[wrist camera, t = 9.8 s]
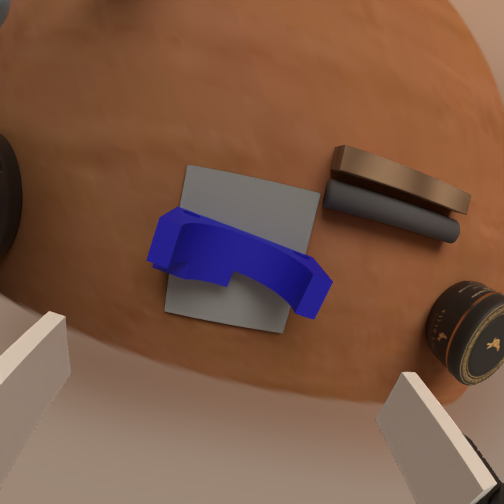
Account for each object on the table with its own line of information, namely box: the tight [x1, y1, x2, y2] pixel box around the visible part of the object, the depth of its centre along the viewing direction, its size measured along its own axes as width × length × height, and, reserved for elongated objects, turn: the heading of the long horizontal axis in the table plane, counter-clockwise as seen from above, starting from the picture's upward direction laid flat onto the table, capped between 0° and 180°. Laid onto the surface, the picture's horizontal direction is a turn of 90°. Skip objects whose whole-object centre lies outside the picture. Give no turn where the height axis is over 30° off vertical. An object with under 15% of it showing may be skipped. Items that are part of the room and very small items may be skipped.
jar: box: [426, 281, 504, 385], centre depth 25 cm, size 10×10×8 cm
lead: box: [323, 179, 460, 243], centre depth 25 cm, size 14×2×2 cm, turn 78°
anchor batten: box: [331, 145, 471, 215], centre depth 24 cm, size 14×2×2 cm, turn 78°
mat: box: [165, 165, 321, 333], centre depth 26 cm, size 11×13×1 cm
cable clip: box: [147, 207, 333, 319], centre depth 23 cm, size 12×4×6 cm, turn 69°
